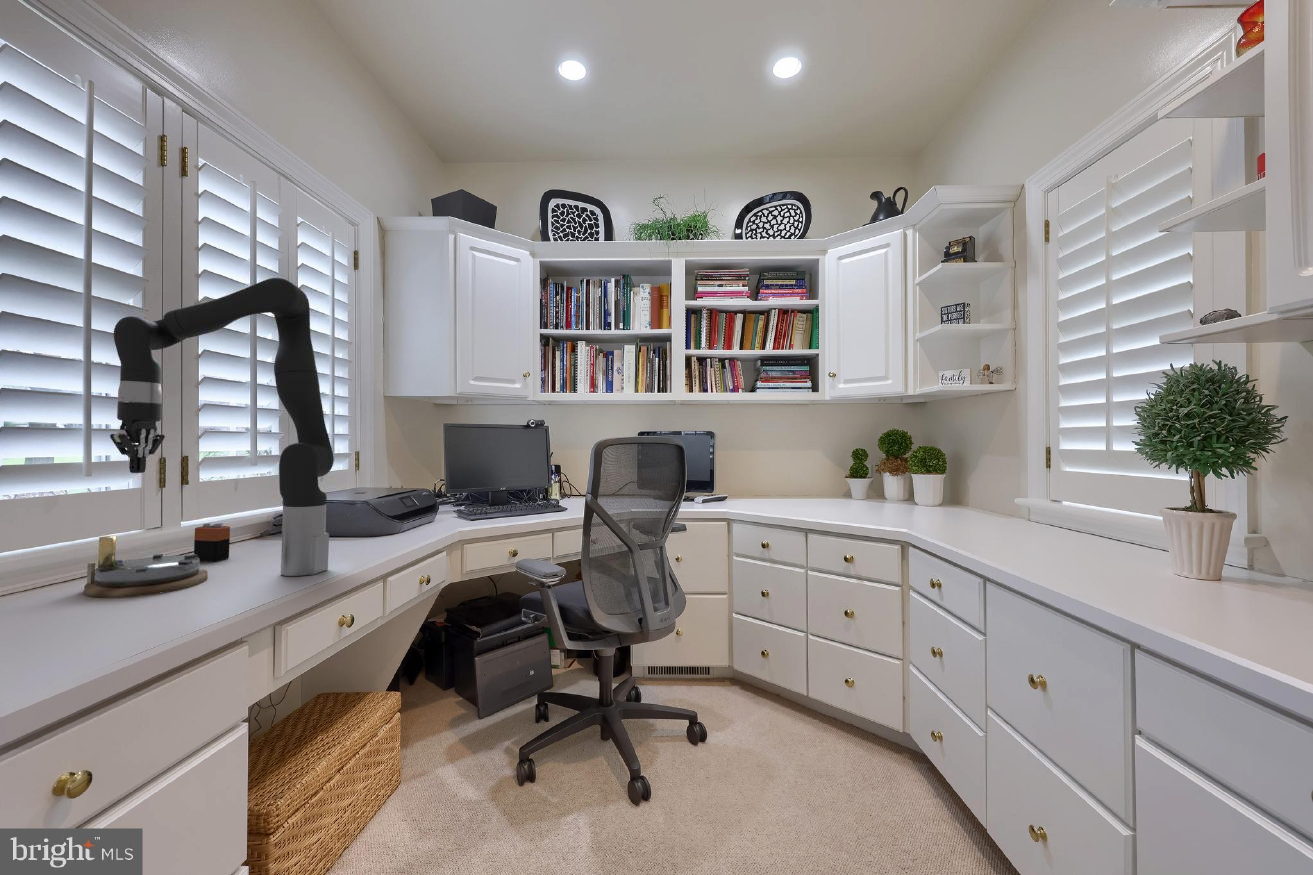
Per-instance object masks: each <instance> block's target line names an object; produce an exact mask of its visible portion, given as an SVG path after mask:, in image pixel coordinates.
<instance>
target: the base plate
mask: <svg viewBox="0 0 1313 875" xmlns="http://www.w3.org/2000/svg"><path fill="white" fill-rule="evenodd" d="M95 569H96V562H89V563H87V569H86V571H87V573H86V574H87V575H86V584H85V585H84V588H83V595H85V596H86V597H89V598H97V599H98V598H99V599H112V598H114V599H115V598H116V599H117V597H120V598H133V597H139V596H140V595H143V596H150V595H149V594H151V595H156V594H157V593H158V594H161V593H160V592H164V593H168V592H167V591H169V592H173V591H172V590H174V591H179V590H182V589H181V588H184V589H186V588H187V589H188V588H190V587H189V586H191V587H194V586H197V585H200V584H202V583H204V582H206V581H207V580H208V574H209V573H208V570H207V569H204V568H201V567H199V573H198V574H196V575H194V576H191V577H188V578H184V579H180V580H176V581H171V582H165V583H159V584H152V585H144V586H133V587H101V586H97V585H95ZM199 583H200V584H199ZM193 585H194V586H193ZM178 589H179V590H178ZM158 594H157V595H158ZM138 595H139V596H138ZM140 597H141V596H140Z"/></svg>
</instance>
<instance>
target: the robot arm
mask: <svg viewBox="0 0 1313 875" xmlns="http://www.w3.org/2000/svg"><path fill="white" fill-rule="evenodd" d="M310 308H311V307H310V300H309V299H308V296H307V294H306V293H305V291H303V290H302V289H301V288H299V287H298V285H297V286H296V285H295V284H294V283H293V282H291V281H290V280H288V279H285V278H281V277H271V278H270V277H269V278H267V279H264V280H262V281H259V282H257V283H255V284H252V285H250V286H248V287H244V288H243V289H240V290H237V291H235V292H232V293H230V294H227V295H224V296H221V297H218V298H215V299H212V300H209V301H206V302H202V303H201V302H200V303H197V304H193V305H188V306H184V307H180V308H177V309H172V310H169V311H167V312H165V314H164V315H163V318H161V319H159V320H153V321H151V320H147V319H145V318H143V317H142V318H141V317H138V316H133V315H131V316H125V317H122V318H121V319H120V320H118V321H117V322H116V324H115V326H114V329H113V341H114V346H115V348H116V353H117V356H118V359H119V361H120V375H119V376H120V378H119V381H120V382H119V386H118V391H117V409H116V410H117V411H116V418H117V420H118V421H121V424H120V426H119V430H118V432H116V433H111V434H110V435H109V437H110V440H111V441H112V442H113V444H114V445H115V447H116V448H117V451H119V454H121V455H122V456H126V457H128V458H129V466H128V468H129V473H131V474H143V473H145V472H146V469H147V458H148V457H149V456H150V455H155V453H156V451H157V450H158V449H159V447H160V446H161V444H163V441H164V440H165V438H166V436H165V434H160V433H159V432H158V427H157V425H156V423H157V422H160V421H161V420H162V405H163V404H162V401H163V392H162V391H163V390H162V365H161V363H160V362H159V361H158V360H156V359H155V358H154V356H153V353H152V351H157V350H158V351H159V350H164V349H167V348H169V347H172V346H174V345H176V344H179V343H181V342H183V341H184V340H186V339H191V338H195V337H199V336H202V335H207V334H211V333H214V332H216V331H219V330H222V329H223V328H225V327H227V326H229V325H231V324H232V323H234V322H236V321H237V320H239V319H243V318H246V317H249V316H252V315H259V314H267V313H268V314H269V313H271V314H273V317H274V320H275V323H276V328H277V331H278V332H277V333H278V347H277V351H276V354H275V358H274V364H273V375H274V381H275V385H276V392H277V396H278V398H279V399H280V401H281V404H282V405H283V407H284V408H285V410H286V412H287V413H288V415H289V416H290V419H291V420H292V422H293V424H294V428H295V430H296V431H295V432H296V436H297V442H294V443H290V444H289V445H287V446H286V447H285V448H284V449H283V450H282V451H281V454H280V458H279V463H278V473H279V475H278V479H279V481H278V482H279V486H278V487H279V493H280V496H281V498H282V522H281V523H282V524H281V525H282V526H281V552H280V553H281V554H280V560H281V561H280V575H281V576H286V577H300V576H308V575H310V576H314V575H317V574H319V573H322V572H325V571H326V570H329V550H330V548H329V546H330V534H329V532H327V531H326V529H327V528H326V524H327V523H326V522H327V500H328V499H327V498H328V497H327V493H325V492H323V490H321V488H320V486H319V478H320V477H324V476H326V475H328V474H329V473H330V472H331V470H332V468H333V466H334V460H335V459H334V458H335V457H334V451H333V448H332V445H331V441H330V437H329V433H328V430H327V426H326V421H325V415H324V408H323V403H322V398H321V389H320V382H319V374H318V368H317V364H316V357H315V352H314V348H313V342H312V336H311V317H310V316H311V311H310V310H311V309H310Z"/></svg>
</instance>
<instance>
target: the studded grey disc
mask: <svg viewBox="0 0 1313 875" xmlns="http://www.w3.org/2000/svg"><path fill="white" fill-rule="evenodd" d="M116 548H117V536H116V535H105V536H99V537H98V552H97V553H98V554H97V568H96V567H95V585H97V586H101V587H133V586H144V585H152V584H159V583H165V582H171V581H176V580H180V579H184V578H188V577H191V576H194V575H196V574H198V573H199V568H201V567H200V562H201V561H200V558H198V555H197V554H194V553H192V554H186V555H164V554H163V553H155V554H153V555H152V556H149V557H140V558H134V559H133V558H132V559H125V560H123V559H118V560H117V559H116V550H117V549H116Z"/></svg>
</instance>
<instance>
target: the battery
mask: <svg viewBox="0 0 1313 875" xmlns="http://www.w3.org/2000/svg"><path fill="white" fill-rule="evenodd" d="M230 535H231V527H230V526H229V525H224V523H221V522H219V523H213V524H211V522H210V523H203V524H202V526H198V527H197V526H196V527H195V528H194V541H193V542H194V543H193V544H194V545H193V554H197V555H198V558H200V562H211V561H212V562H215V563H216V562H220V561H224V560H228V559H229V558H230V538H231V537H230Z"/></svg>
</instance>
